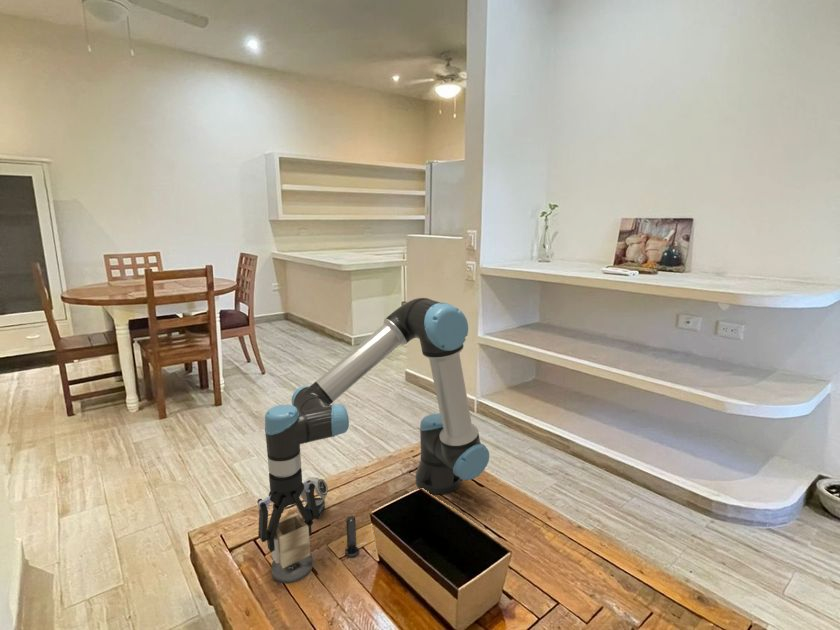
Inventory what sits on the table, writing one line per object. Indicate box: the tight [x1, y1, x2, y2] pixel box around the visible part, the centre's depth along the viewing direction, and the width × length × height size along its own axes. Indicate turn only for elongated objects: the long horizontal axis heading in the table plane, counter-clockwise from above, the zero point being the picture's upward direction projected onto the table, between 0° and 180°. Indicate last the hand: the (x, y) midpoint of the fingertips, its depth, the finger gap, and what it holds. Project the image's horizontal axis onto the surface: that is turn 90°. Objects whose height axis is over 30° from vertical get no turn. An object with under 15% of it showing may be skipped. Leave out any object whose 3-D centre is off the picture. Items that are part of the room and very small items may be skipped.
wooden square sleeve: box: [275, 512, 311, 568], centre depth 109 cm, size 7×7×8 cm
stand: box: [344, 515, 360, 559], centre depth 115 cm, size 4×4×10 cm
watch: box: [300, 477, 329, 520], centre depth 131 cm, size 6×8×11 cm
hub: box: [270, 552, 314, 584], centre depth 110 cm, size 10×10×8 cm
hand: (291, 552), depth 110 cm, fingers closed on wooden square sleeve, 7 cm apart
